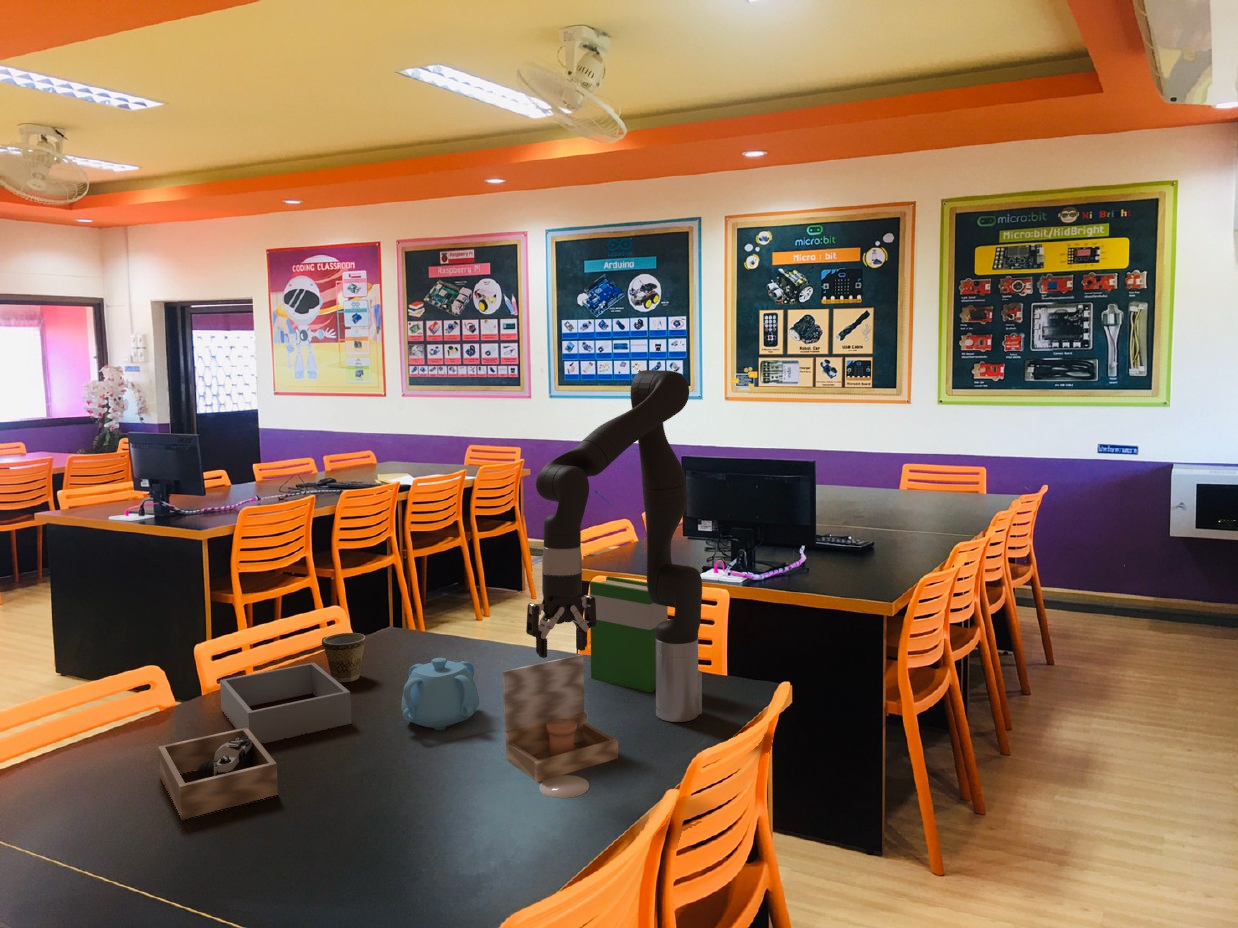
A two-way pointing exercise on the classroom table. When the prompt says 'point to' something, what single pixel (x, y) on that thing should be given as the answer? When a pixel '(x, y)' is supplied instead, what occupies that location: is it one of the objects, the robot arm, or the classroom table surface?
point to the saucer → (564, 786)
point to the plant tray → (289, 717)
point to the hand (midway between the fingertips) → (561, 653)
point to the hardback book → (625, 633)
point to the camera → (228, 758)
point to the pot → (561, 735)
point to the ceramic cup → (344, 655)
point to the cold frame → (540, 700)
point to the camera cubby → (217, 788)
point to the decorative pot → (440, 693)
